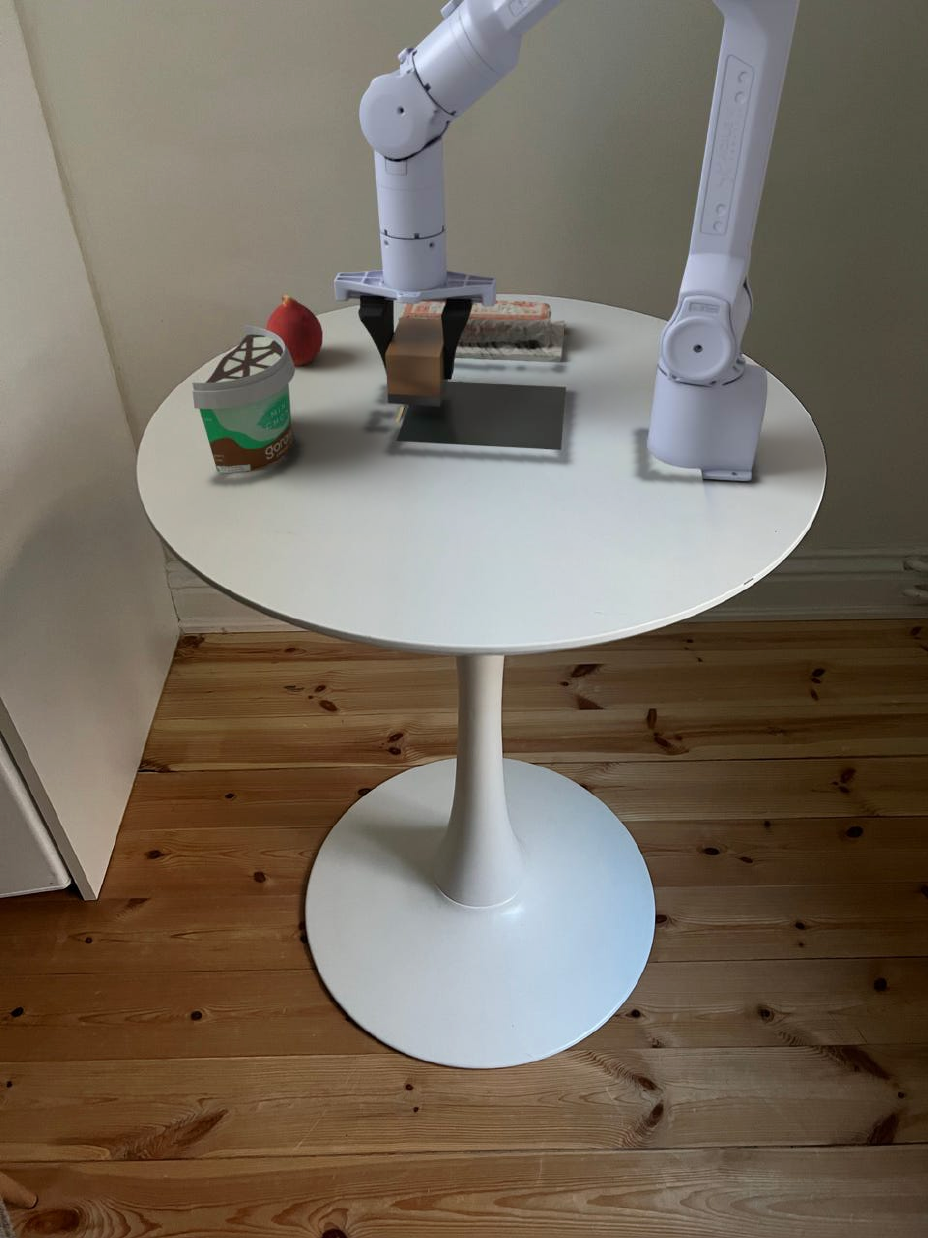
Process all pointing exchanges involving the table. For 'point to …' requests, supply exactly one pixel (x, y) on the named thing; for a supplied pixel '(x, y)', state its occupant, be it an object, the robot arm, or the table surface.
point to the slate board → (489, 416)
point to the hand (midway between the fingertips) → (419, 373)
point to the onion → (297, 330)
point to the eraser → (416, 363)
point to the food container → (248, 403)
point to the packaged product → (502, 330)
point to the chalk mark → (400, 414)
